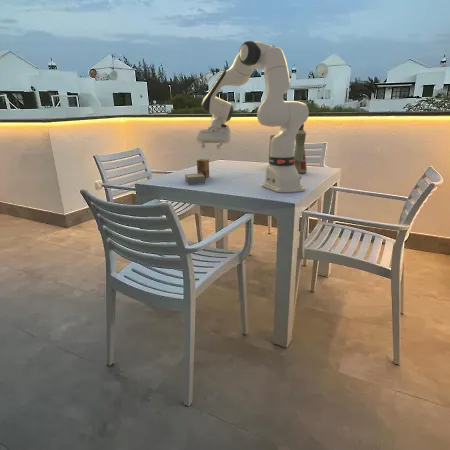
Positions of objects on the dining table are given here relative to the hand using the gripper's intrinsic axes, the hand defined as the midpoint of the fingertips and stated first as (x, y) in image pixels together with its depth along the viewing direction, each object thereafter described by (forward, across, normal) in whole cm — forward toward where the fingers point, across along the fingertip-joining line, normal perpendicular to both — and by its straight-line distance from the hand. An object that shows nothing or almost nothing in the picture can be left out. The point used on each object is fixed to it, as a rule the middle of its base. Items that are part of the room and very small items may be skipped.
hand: (210, 147), depth 190 cm
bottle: (0, +49, +22) cm, 53 cm away
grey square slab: (+28, 0, -6) cm, 28 cm away
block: (-13, +33, +35) cm, 50 cm away
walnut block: (+19, 0, +2) cm, 19 cm away
